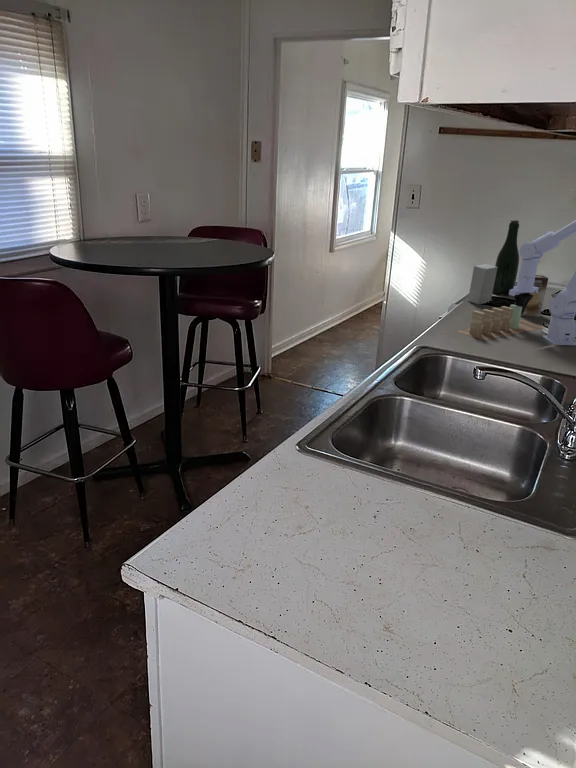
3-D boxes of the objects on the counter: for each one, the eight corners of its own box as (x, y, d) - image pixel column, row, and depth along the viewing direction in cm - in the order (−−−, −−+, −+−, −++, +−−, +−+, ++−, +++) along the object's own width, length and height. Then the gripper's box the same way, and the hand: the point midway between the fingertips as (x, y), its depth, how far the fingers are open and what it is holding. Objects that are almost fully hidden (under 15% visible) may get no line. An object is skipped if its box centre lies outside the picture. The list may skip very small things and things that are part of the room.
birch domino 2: (488, 334, 210) (491, 312, 207) (478, 331, 213) (482, 309, 210) (490, 333, 211) (494, 311, 208) (481, 330, 214) (485, 308, 211)
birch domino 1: (478, 336, 208) (482, 313, 205) (469, 333, 211) (472, 311, 208) (481, 335, 208) (485, 313, 205) (472, 332, 211) (475, 310, 209)
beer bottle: (518, 295, 275) (532, 221, 263) (497, 295, 272) (511, 221, 260) (505, 290, 284) (518, 219, 272) (485, 290, 282) (498, 218, 270)
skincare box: (478, 299, 264) (484, 263, 258) (492, 303, 259) (498, 266, 253) (466, 301, 259) (472, 264, 254) (480, 305, 254) (486, 267, 248)
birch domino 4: (506, 330, 216) (510, 309, 213) (497, 327, 219) (501, 306, 216) (509, 330, 217) (513, 308, 214) (500, 327, 220) (504, 305, 217)
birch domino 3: (497, 332, 213) (501, 310, 210) (488, 329, 216) (492, 307, 213) (500, 331, 214) (504, 310, 211) (491, 329, 217) (494, 307, 214)
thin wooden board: (483, 341, 203) (483, 340, 203) (455, 332, 213) (455, 331, 212) (547, 328, 223) (547, 327, 223) (519, 320, 233) (519, 319, 232)
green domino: (515, 328, 219) (519, 307, 216) (506, 326, 222) (510, 304, 219) (518, 328, 220) (522, 307, 217) (509, 325, 223) (513, 304, 220)
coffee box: (516, 316, 238) (524, 276, 232) (512, 312, 244) (520, 273, 238) (540, 318, 238) (548, 278, 232) (535, 314, 244) (543, 275, 238)
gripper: (529, 272, 222) (522, 308, 227) (504, 275, 215) (498, 312, 220) (546, 276, 217) (538, 312, 222) (521, 279, 209) (514, 317, 214)
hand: (519, 313), depth 221 cm, fingers closed
